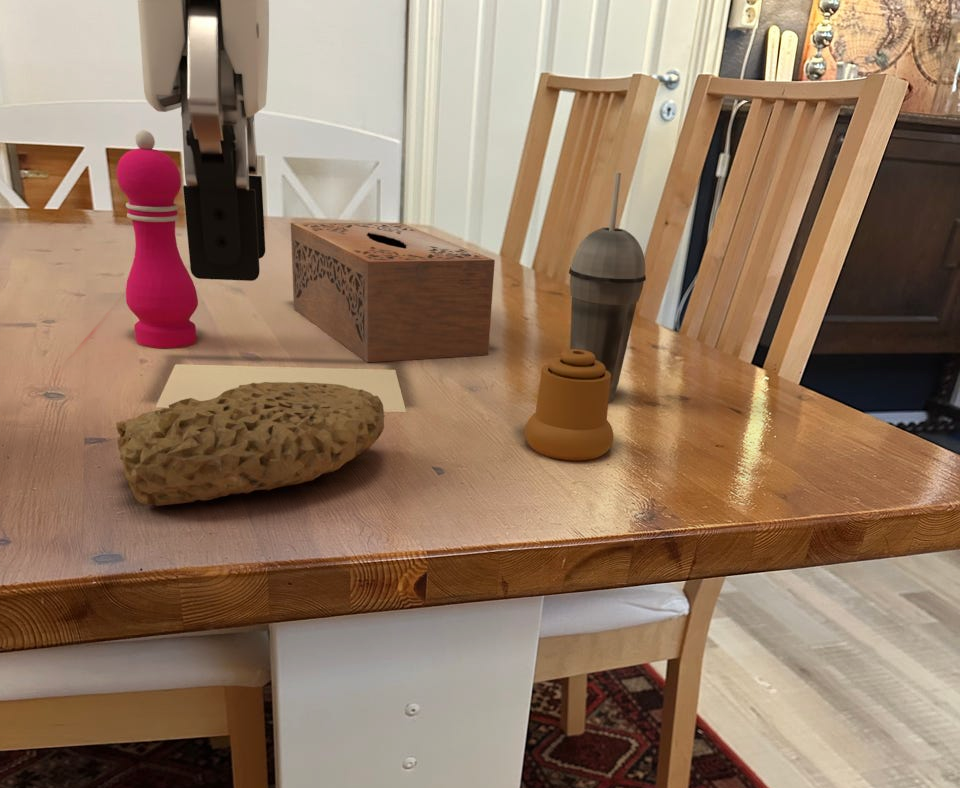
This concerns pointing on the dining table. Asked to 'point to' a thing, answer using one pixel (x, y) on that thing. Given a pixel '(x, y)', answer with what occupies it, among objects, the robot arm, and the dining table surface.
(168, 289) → the pepper mill
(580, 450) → the ornamental finial
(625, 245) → the beverage cup
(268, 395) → the sponge
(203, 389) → the board
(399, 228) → the tissue box cover
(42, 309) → the dining table surface
